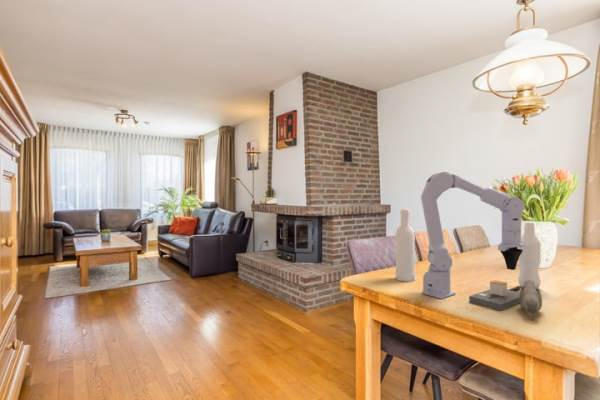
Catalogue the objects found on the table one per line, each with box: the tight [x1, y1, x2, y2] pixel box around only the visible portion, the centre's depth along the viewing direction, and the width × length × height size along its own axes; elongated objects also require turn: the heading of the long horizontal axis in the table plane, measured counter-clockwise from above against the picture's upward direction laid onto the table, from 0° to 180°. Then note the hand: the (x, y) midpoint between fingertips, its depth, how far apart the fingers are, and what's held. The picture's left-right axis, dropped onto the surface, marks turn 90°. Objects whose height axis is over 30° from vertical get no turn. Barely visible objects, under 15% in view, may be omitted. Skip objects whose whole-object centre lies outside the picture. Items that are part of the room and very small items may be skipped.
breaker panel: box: [468, 288, 521, 312], centre depth 109 cm, size 18×10×2 cm, turn 123°
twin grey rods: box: [508, 285, 521, 292], centre depth 117 cm, size 12×6×1 cm, turn 123°
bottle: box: [395, 208, 416, 283], centre depth 137 cm, size 8×8×30 cm
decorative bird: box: [519, 280, 543, 321], centre depth 99 cm, size 6×17×8 cm, turn 146°
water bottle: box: [517, 222, 542, 290], centre depth 124 cm, size 7×7×25 cm
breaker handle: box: [489, 279, 508, 296], centre depth 109 cm, size 3×4×4 cm
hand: (511, 269), depth 114 cm, fingers closed
